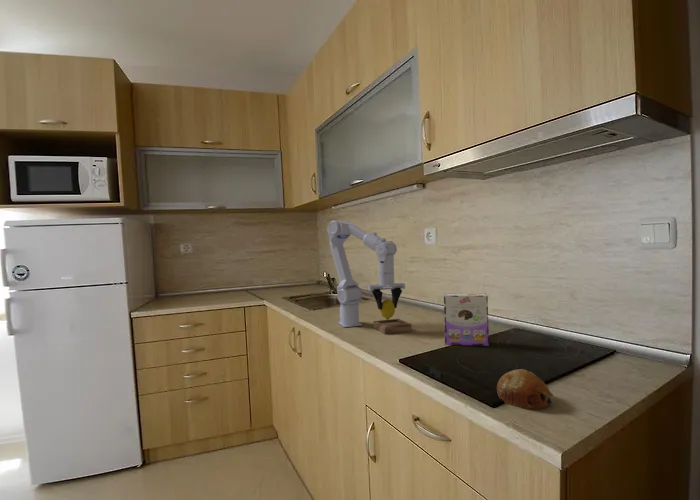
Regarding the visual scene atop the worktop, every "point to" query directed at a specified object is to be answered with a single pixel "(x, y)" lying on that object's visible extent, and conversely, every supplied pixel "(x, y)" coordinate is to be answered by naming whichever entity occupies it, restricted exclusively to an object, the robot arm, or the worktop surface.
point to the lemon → (387, 309)
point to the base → (392, 326)
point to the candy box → (466, 319)
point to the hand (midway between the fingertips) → (387, 308)
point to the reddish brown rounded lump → (523, 390)
